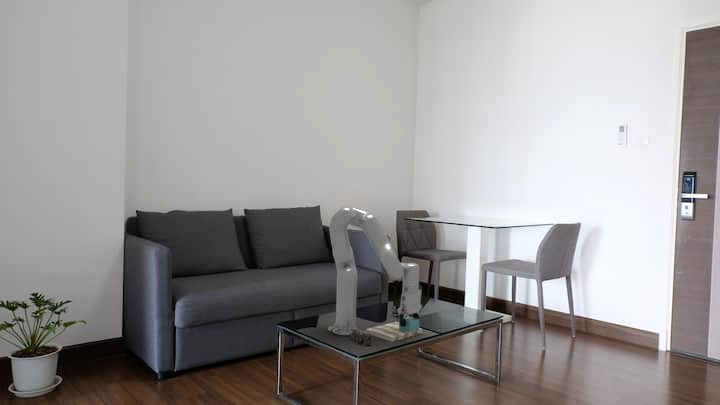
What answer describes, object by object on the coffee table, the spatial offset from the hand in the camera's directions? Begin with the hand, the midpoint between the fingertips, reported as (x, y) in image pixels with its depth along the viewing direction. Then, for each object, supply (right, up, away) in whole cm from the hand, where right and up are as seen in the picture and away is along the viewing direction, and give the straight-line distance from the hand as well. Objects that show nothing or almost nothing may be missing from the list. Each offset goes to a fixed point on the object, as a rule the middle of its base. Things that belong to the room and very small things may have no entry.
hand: (409, 324), depth 245 cm
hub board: (-7, -4, 0) cm, 8 cm away
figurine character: (0, -4, +30) cm, 30 cm away
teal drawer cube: (0, -2, 0) cm, 2 cm away
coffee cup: (+7, -3, +50) cm, 50 cm away
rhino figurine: (-24, -4, -16) cm, 29 cm away
